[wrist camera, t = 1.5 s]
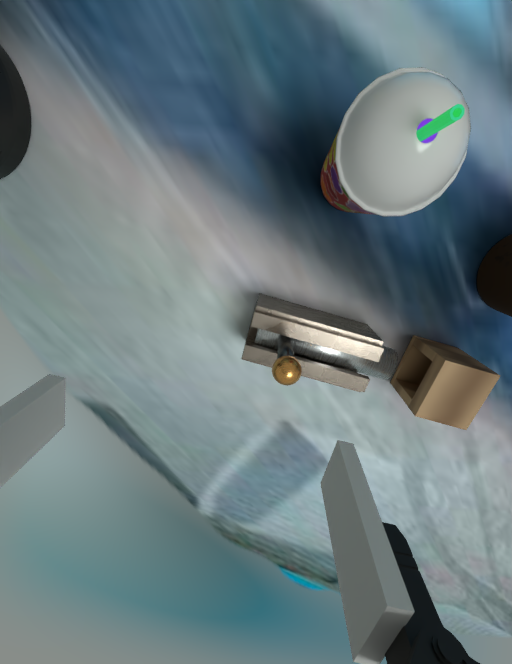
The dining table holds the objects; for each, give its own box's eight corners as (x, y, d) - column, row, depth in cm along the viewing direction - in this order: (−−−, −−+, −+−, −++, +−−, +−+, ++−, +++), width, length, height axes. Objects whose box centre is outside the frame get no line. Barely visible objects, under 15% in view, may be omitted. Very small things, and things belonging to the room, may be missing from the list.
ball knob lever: (255, 336, 38) (247, 386, 26) (263, 308, 36) (259, 347, 25) (376, 370, 38) (422, 434, 26) (389, 343, 37) (443, 399, 25)
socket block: (390, 382, 40) (415, 415, 33) (413, 335, 38) (445, 360, 31) (432, 394, 40) (466, 430, 33) (458, 348, 38) (500, 375, 31)
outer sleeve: (246, 339, 39) (240, 362, 33) (259, 293, 37) (256, 307, 31) (348, 368, 40) (362, 395, 33) (367, 324, 38) (386, 344, 31)
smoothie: (404, 147, 31) (603, 27, 12) (371, 229, 34) (493, 233, 15) (327, 122, 31) (411, -41, 12) (300, 207, 34) (335, 183, 15)
